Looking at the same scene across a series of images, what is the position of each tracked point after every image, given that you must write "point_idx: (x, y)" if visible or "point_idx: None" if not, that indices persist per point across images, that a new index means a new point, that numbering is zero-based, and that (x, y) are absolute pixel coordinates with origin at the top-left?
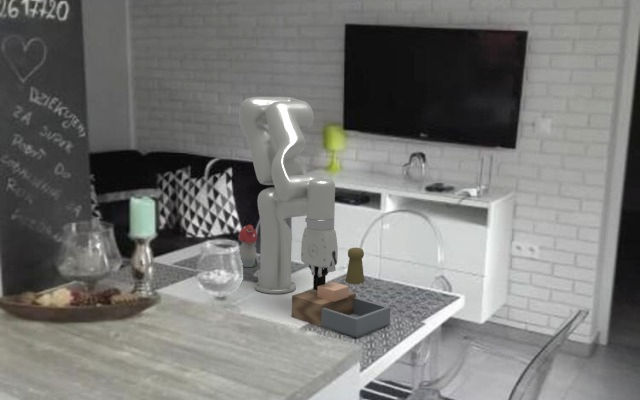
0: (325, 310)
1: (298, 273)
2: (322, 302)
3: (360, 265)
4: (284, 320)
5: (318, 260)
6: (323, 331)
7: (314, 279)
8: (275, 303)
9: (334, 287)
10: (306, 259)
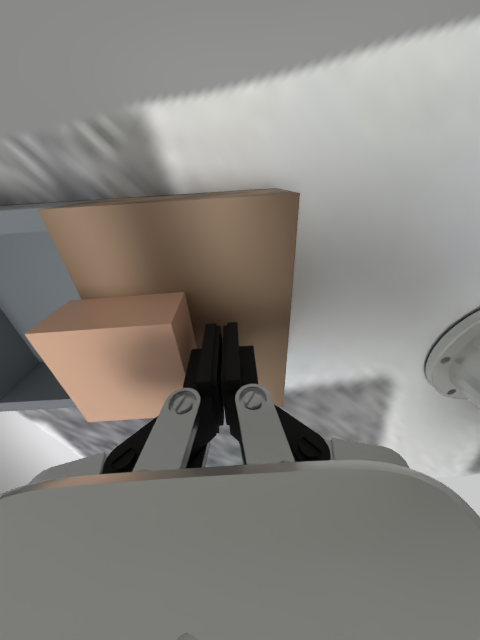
0: (27, 208)
1: (472, 440)
2: (80, 245)
3: None
4: (263, 116)
5: (21, 633)
6: (47, 161)
7: (229, 362)
8: (423, 251)
9: (98, 373)
10: (352, 549)
